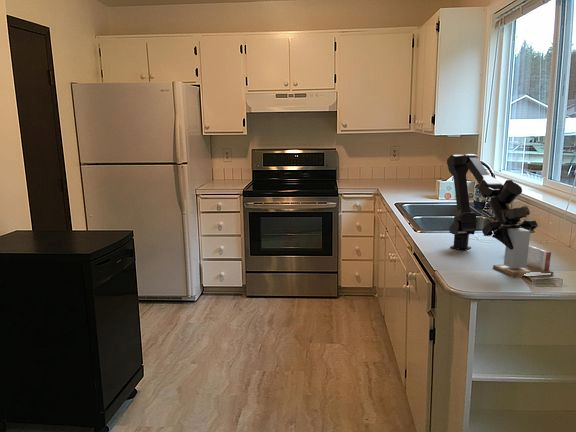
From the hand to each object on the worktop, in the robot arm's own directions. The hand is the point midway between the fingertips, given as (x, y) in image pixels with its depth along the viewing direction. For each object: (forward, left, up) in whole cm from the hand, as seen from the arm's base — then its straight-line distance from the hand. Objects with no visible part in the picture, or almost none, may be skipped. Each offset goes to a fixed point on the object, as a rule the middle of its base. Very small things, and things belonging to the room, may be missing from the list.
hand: (519, 248), depth 161 cm
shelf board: (-4, +1, -9) cm, 9 cm away
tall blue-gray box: (-1, -1, -7) cm, 7 cm away
